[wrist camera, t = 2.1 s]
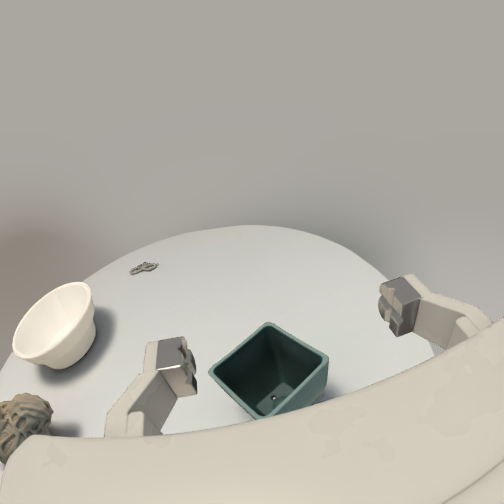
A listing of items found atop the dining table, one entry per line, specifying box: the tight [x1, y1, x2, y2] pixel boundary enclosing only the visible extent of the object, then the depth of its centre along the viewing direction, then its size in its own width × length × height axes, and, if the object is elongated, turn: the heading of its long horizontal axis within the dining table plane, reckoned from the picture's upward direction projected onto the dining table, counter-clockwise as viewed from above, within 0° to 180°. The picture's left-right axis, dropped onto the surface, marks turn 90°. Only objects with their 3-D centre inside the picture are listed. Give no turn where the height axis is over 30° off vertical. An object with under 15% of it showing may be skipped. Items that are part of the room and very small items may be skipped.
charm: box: [129, 262, 158, 274], centre depth 67 cm, size 8×1×4 cm
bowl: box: [13, 282, 96, 369], centre depth 47 cm, size 21×21×8 cm
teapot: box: [0, 393, 53, 464], centre depth 25 cm, size 21×12×15 cm, turn 122°
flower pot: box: [208, 322, 329, 420], centre depth 29 cm, size 9×9×9 cm
